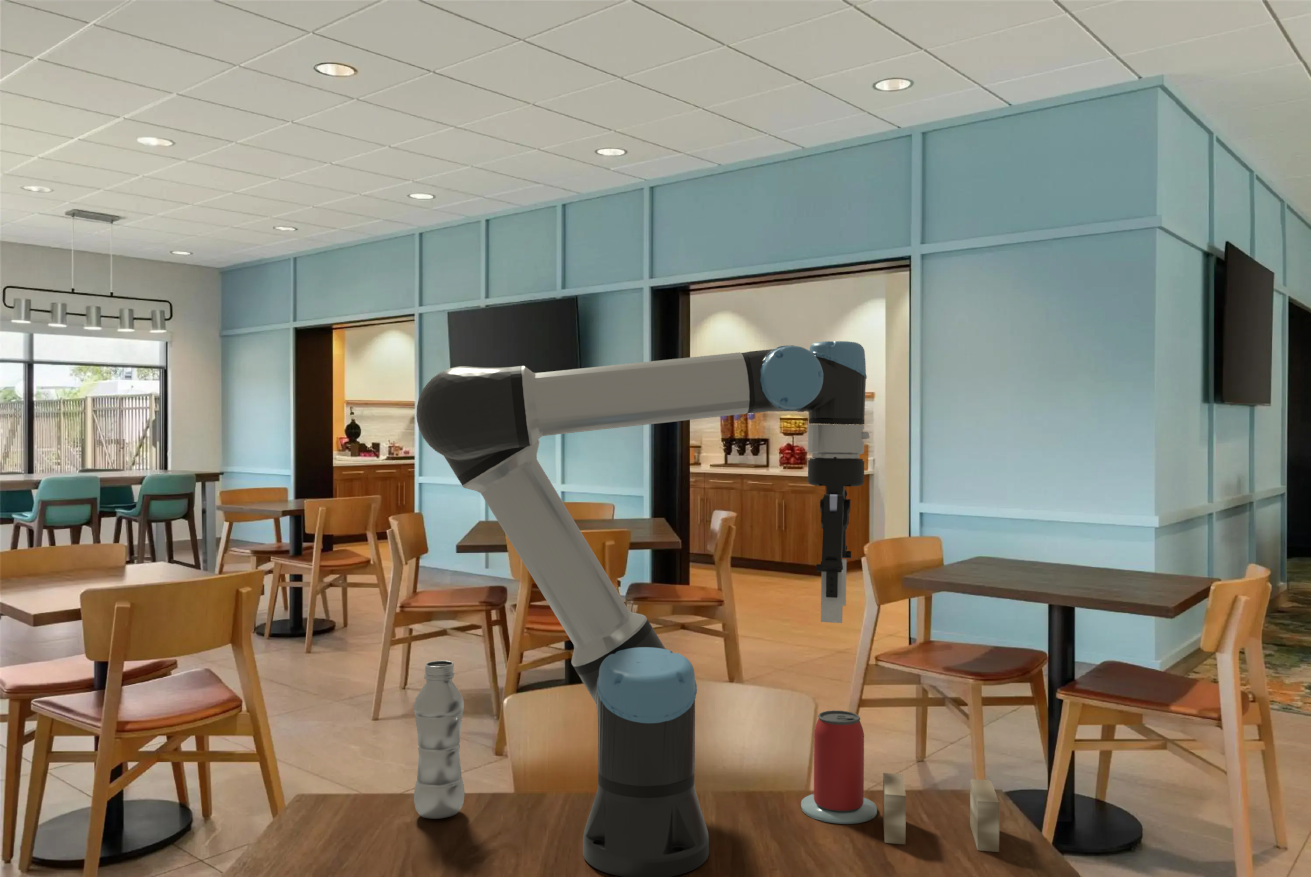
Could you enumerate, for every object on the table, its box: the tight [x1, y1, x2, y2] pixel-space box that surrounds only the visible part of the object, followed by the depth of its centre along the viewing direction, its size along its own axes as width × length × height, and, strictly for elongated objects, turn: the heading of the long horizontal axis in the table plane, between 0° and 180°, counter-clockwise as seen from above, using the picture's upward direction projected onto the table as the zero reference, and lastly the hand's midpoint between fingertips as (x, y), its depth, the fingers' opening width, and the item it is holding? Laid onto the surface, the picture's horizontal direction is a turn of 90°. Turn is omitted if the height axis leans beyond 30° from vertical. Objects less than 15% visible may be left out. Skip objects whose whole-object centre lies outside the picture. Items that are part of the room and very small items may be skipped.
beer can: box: [813, 709, 865, 812], centre depth 137 cm, size 7×7×12 cm
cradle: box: [882, 772, 1000, 853], centre depth 128 cm, size 14×8×6 cm, turn 79°
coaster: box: [800, 793, 878, 825], centre depth 137 cm, size 10×10×1 cm
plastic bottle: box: [413, 660, 466, 820], centre depth 134 cm, size 6×7×20 cm
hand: (833, 613), depth 138 cm, fingers open, 13 cm apart
